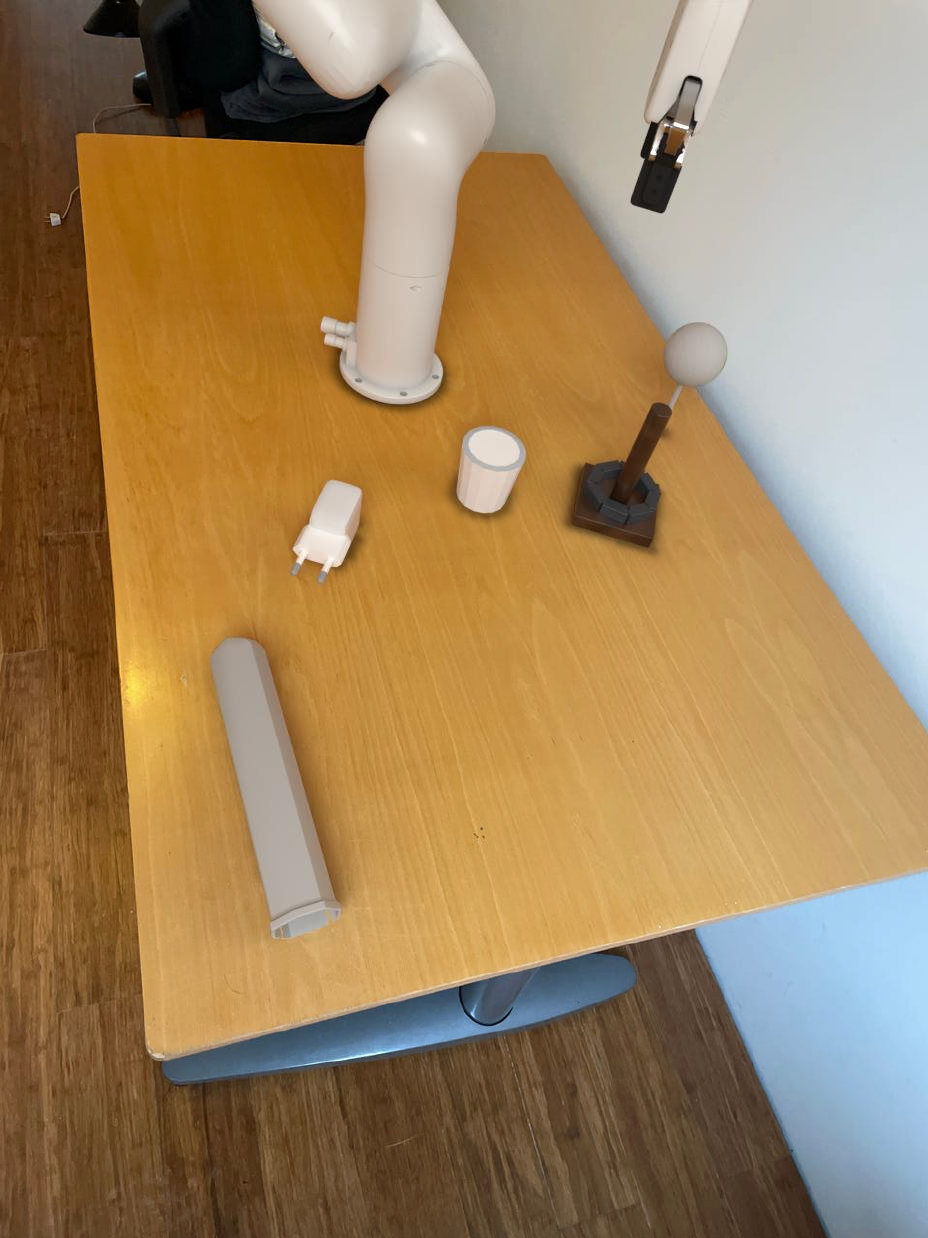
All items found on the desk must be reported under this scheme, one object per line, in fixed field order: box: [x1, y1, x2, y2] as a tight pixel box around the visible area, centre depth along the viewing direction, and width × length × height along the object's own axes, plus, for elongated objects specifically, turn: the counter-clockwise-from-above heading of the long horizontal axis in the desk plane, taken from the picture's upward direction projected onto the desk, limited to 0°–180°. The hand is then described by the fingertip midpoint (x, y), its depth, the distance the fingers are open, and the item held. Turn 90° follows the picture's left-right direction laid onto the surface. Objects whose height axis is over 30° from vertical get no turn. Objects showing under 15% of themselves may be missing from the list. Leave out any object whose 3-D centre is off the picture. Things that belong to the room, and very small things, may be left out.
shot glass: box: [455, 425, 527, 514], centre depth 88 cm, size 7×7×7 cm
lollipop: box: [662, 321, 728, 411], centre depth 97 cm, size 7×7×15 cm
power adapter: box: [289, 479, 363, 585], centre depth 79 cm, size 11×5×6 cm, turn 166°
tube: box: [209, 637, 342, 940], centre depth 65 cm, size 5×5×25 cm
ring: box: [584, 459, 662, 524], centre depth 92 cm, size 8×8×1 cm
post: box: [571, 401, 673, 549], centre depth 87 cm, size 9×9×14 cm
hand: (651, 183), depth 75 cm, fingers open, 9 cm apart
